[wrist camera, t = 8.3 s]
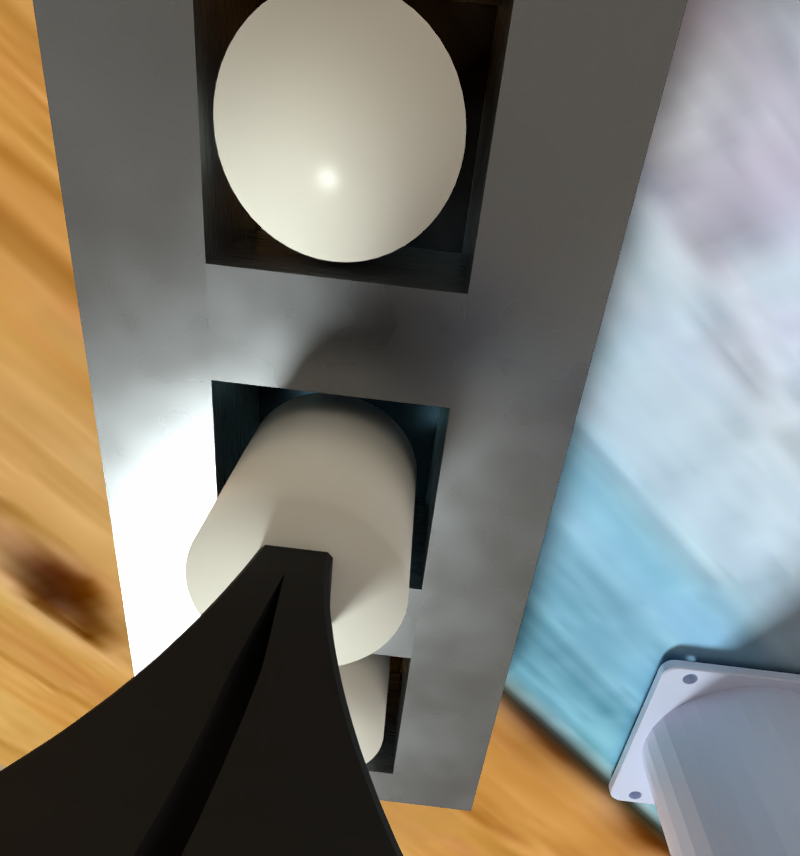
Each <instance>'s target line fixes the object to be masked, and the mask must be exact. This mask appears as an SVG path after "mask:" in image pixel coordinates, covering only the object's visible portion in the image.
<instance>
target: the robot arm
mask: <svg viewBox="0 0 800 856" xmlns="http://www.w3.org/2000/svg"><path fill="white" fill-rule="evenodd" d="M332 566H333V557H332V556H331V555H330V554H329V553H328V552H323V551H314V550H305V549H297V548H289V547H280V546H272V545H264V546H263V547H261V548H260V549H259V550H258V551H257V553H256V554H255V555H254V556H253V558H252V559H251V560H250V561H249V562H248V564H247V565H246V566H245V567H244V568H243V570H242V571H241V572H240V573H239V574H238V575H237V577H236V578H235V579H234V580H233V581H232V582H231V583H230V585H229V586H228V587H227V588H226V589H225V590H224V591H223V592H222V593H221V594H220V596H219V597H218V598H217V599H216V600H215V601H214V602H213V603H212V604H211V605H210V606H209V607H208V608H207V609H206V610H205V611H204V612H203V613H202V614H201V615H200V617H199V618H198V619H197V620H196V621H195V622H194V623H193V624H192V625H191V626H189V627H188V628H187V629H186V630H185V631H184V632H183V633H182V634H181V635H180V636H179V637H178V638H177V639H176V640H175V641H174V642H173V643H171V644H170V645H169V646H168V647H167V648H166V649H165V650H164V651H163V652H162V653H161V654H160V655H159V656H158V657H156V658H155V659H154V660H153V661H152V662H151V663H150V664H148V665H147V666H146V667H145V668H144V669H143V670H141V671H140V672H139V673H138V674H137V675H135V676H134V677H133V678H132V679H131V680H129V681H128V682H127V683H126V684H124V685H123V686H122V687H121V688H119V689H118V690H117V691H116V692H114V693H113V694H112V695H111V696H109V697H108V698H107V699H105V700H104V701H103V702H101V703H100V704H99V705H97V706H96V707H95V708H93V709H92V710H91V711H89V712H88V713H86V714H85V715H84V716H82V717H81V718H80V719H78V720H77V721H76V722H74V723H73V724H71V725H70V726H69V727H67V728H66V729H64V730H63V731H62V732H60V733H59V734H57V735H56V736H54V737H53V738H51V739H50V740H48V741H47V742H45V743H44V744H42V745H41V746H39V747H37V748H36V749H34V750H33V751H31V752H30V753H28V754H26V755H25V756H23V757H22V758H20V759H19V760H17V761H16V762H14V763H12V764H11V765H9V766H8V767H6V768H5V769H3V770H1V771H0V856H403V854H402V852H401V850H400V848H399V846H398V844H397V841H396V839H395V837H394V834H393V832H392V830H391V827H390V825H389V823H388V820H387V818H386V815H385V813H384V811H383V808H382V806H381V803H380V801H379V798H378V795H377V793H376V790H375V787H374V784H373V782H372V779H371V776H370V774H369V771H368V768H367V766H366V763H365V760H364V757H363V755H362V752H361V749H360V745H359V742H358V739H357V736H356V733H355V729H354V726H353V723H352V719H351V716H350V712H349V708H348V705H347V701H346V697H345V693H344V689H343V685H342V680H341V676H340V671H339V666H338V661H337V656H336V650H335V644H334V637H333V629H332V622H331V613H330V598H331V582H332ZM688 674H689V675H688ZM609 790H610V794H611V796H612V797H613V798H615V799H617V800H622V801H631V802H639V803H647V804H655V806H656V809H657V812H658V815H659V819H660V822H661V825H662V828H663V831H664V835H665V838H666V841H667V844H668V848H669V851H670V854H671V856H800V674H791V673H783V672H774V671H766V670H758V669H749V668H741V667H732V666H724V665H716V664H707V663H699V662H691V661H682V660H669V661H666V662H665V663H663V664H662V665H661V666H660V668H659V670H658V672H657V675H656V677H655V679H654V681H653V684H652V686H651V688H650V691H649V693H648V695H647V698H646V700H645V702H644V705H643V707H642V709H641V711H640V714H639V716H638V718H637V721H636V723H635V725H634V728H633V730H632V732H631V734H630V737H629V739H628V741H627V744H626V746H625V748H624V751H623V753H622V755H621V758H620V760H619V762H618V764H617V767H616V769H615V771H614V774H613V776H612V778H611V781H610V783H609Z"/></svg>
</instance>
